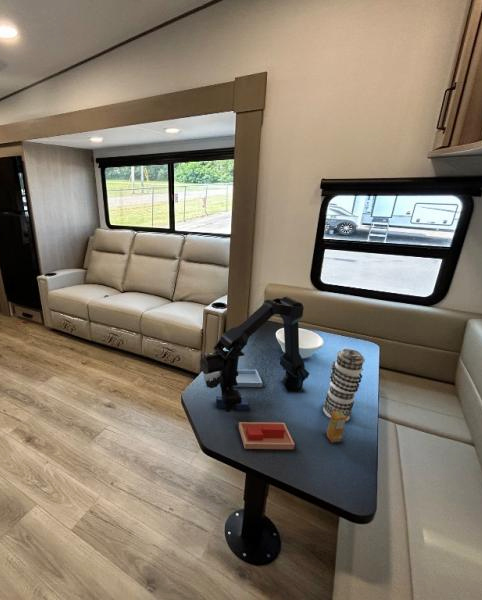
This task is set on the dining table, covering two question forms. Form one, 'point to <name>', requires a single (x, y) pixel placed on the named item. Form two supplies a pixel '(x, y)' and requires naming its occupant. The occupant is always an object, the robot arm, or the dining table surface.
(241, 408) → the dark blue block
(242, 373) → the tray blue
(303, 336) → the bowl
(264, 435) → the red stepped block
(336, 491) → the dining table surface
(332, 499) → the dining table surface
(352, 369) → the leaning tower model
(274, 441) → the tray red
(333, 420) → the supplement box
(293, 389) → the robot arm
